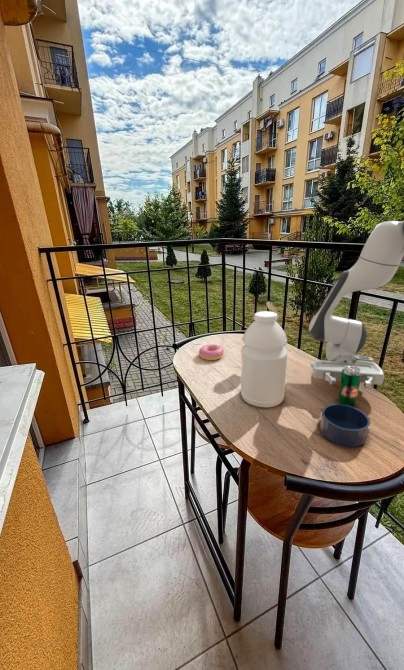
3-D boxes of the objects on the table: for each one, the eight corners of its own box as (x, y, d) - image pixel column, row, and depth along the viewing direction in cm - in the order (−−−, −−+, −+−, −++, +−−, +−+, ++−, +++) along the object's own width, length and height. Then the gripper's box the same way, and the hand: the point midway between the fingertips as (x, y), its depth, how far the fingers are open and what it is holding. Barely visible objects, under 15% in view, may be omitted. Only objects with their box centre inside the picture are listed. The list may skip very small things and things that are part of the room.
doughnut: (220, 362, 116) (220, 353, 114) (195, 360, 119) (194, 351, 118) (226, 352, 125) (226, 343, 124) (203, 350, 129) (202, 341, 127)
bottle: (289, 391, 94) (295, 310, 84) (277, 413, 83) (283, 323, 73) (249, 381, 101) (251, 305, 91) (233, 401, 90) (233, 317, 80)
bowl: (355, 418, 79) (358, 403, 77) (375, 447, 69) (379, 431, 67) (314, 418, 80) (316, 403, 78) (328, 446, 70) (330, 430, 68)
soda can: (339, 407, 84) (344, 372, 80) (335, 398, 89) (340, 364, 85) (357, 409, 83) (364, 373, 79) (353, 399, 88) (359, 365, 83)
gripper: (311, 353, 97) (313, 371, 85) (377, 358, 91) (391, 378, 79) (309, 369, 99) (311, 389, 87) (374, 375, 93) (387, 397, 81)
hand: (350, 384), depth 83 cm, fingers open, 8 cm apart
